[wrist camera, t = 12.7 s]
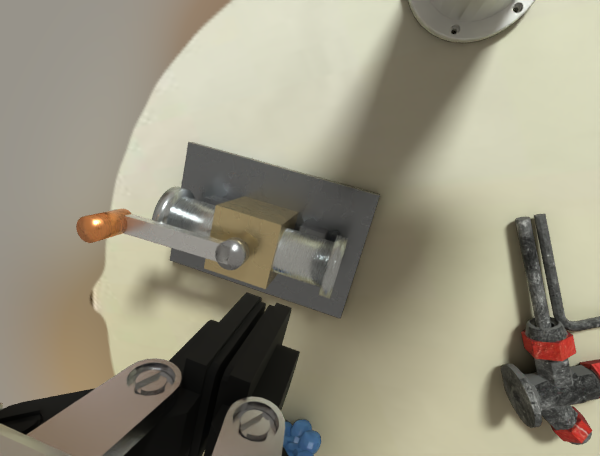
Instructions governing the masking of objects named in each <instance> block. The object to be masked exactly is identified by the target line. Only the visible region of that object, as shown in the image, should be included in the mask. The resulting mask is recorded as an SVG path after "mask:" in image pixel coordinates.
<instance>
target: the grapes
mask: <svg viewBox="0 0 600 456" xmlns="http://www.w3.org/2000/svg"><path fill="white" fill-rule="evenodd" d="M320 444H321V436H320V435H319V434H318V432H316V431H313V430H312V427H311V424H310V423H309V421H307V420H304V419H303V420H297V421H296V422H295V423H294V424H293V426H292V424H291V423H290V422H287V421H285V433H284V441H283V447H284V448H285V450H286V452H287V454H288V456H314V454H315V453H316V452H317V451H318V449H319V447H320Z"/></svg>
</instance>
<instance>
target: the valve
mask: <svg viewBox="0 0 600 456" xmlns="http://www.w3.org/2000/svg"><path fill="white" fill-rule="evenodd" d="M534 218H535V223H536V229H537V234H538V239H539V244H540V249H541V254H542V259H543V264H544V269H545V274H546V280H547V285H548V290H549V295H550V300H551V305H552V310H553V315H554V318H552V317H550V316H549V311H548V306H547V301H546V296H545V291H544V286H543V281H542V276H541V271H540V266H539V261H538V256H537V251H536V245H535V240H534V235H533V230H532V225H531V220H530V217H520V218H516V219H515V222H516V227H517V232H518V237H519V241H520V246H521V251H522V256H523V261H524V266H525V271H526V276H527V281H528V286H529V291H530V296H531V301H532V306H533V311H534V316H535V318H532V319H530V320H528V321H527V323H526V330H524V331H522V332H521V334H522V338H523V343H524V348H525V349H526V350H527V351H528V352H529V353H530V354H531V355H532V356H533V357H534V360H535V365H536V370H537V372H536V373H530V374H523V373H522V372H521V371H520V370H519V369H518V368H517V367H516V366H515V365H513V364H511V363H510V364H504V365H502V366H501V372H502V377H503V382H504V388H505V391H506V393H507V396H508V398H509V400H510V402H511V404H512V406H513V408H514V409H515V411H516V413H517V414H518V416H519V417H520V418H521V420H522V421H523V422H524V423H525V424H526V425H527V426H529V427H530V428H533V427H539V426H540V425H541V423H542V416H543V417H544V418H545V419H546V420H547V421H548V422H549V423H550V425H551V427H552V429H553V431H554V432H555V433H556V434H557V435H558V436H559V437H560V438H561V439H562V440H563V441H567V442H570V443H572V444H576V445H580V444H584V443H586V442H587V441H588V440H589V439H590V438H591V435H592V429H591V428H590V426H589V425H588V423H587V421H586V420H585V418H584V417H583V416H582V414H581V413H580V412H579V411H578V410H577V409H576V408H575V407H573V406H570V405H573V404H579V403H584V402H586V401H588V400H594V399H599V398H600V359H599V360H592V361H586V362H580V365H578V366H572V367H570V366H569V361H568V358H569V357H570V356H572V355H573V354H575V353H576V349H575V344H574V339H573V335H572V334H570V333H569V332H568V331H566V329H567V330H571V331H580V330H585V329H590V328H595V327H600V316H599V317H595V318H590V319H585V320H580V321H569V320H567V318H566V317H565V314H564V308H563V303H562V298H561V293H560V288H559V283H558V277H557V272H556V267H555V262H554V257H553V251H552V246H551V241H550V236H549V231H548V225H547V220H546V215H545V214H537V215H534ZM541 415H542V416H541Z"/></svg>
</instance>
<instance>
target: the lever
mask: <svg viewBox="0 0 600 456" xmlns="http://www.w3.org/2000/svg"><path fill="white" fill-rule="evenodd" d="M76 227H77V232H78V235H79V236H80V238H81V239H82V240H84V241H85V242H88V243H93V242H96V241H100V240H103V239H106V238H109V237H113V236H116V235H119V234H122V233H124V234H128V235H131V236H134V237H138V238H141V239H144V240H147V241H151V242H154V243H157V244H161V245H164V246H167V247H170V248H174V249H177V250H180V251H184V252H187V253H190V254H193V255H197V256H200V257H203V258H207V259H210V260H213V261H216V262H217V263H218V264H219V265H220V266H221V267H222V268H224V269H226V270H235V269H237V268H239V267H240V266H241V265H242V264H244V263H245V262H246V261H247V260H248V258H249V247H248V245H247V244H246V242H245V241H244V240H242V239H240V238H237V237H232V238H229V239H227V240H226V241H222V240H219V239H215V238H212V237H209V236H205V235H202V234H198V233H195V232H192V231H188V230H185V229H181V228H178V227H175V226H171V225H168V224H164V223H161V222H157V221H154V220H151V219H147V218H144V217H140V216H137V215H134V214H131V213H130V212H129V211H128V210H126V209H118V210H111V211H108V212H103V213H98V214H94V215H89V216H84V217H81V218H80V219H79V220H78V222H77V226H76Z"/></svg>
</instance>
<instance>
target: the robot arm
mask: <svg viewBox="0 0 600 456" xmlns="http://www.w3.org/2000/svg"><path fill="white" fill-rule="evenodd" d="M534 1H535V0H408V2H409V6H410V8H411V10H412V12H413V14H414V16H415V18H416V19H417V20H418V22H419V23H420V24H421V25H422V27H424V28H425V29H426V30H427V31H429V32H430V33H431V34H433V35H435V36H437V37H439V38H441V39H444V40H448V41H451V42H463V43H467V42H474V41H480V40H483V39H486V38H489V37H492V36H494V35H496V34H498V33H499V32H501V31H503V30H505V29H506V28H508V27H509V26H510V25H512V24H513V23H514V22H515V21H517V20H518V19H519V18H520V17H521V16H522V15H523V14H524V13H525V12H526V11H527V10H528V9H529V8H530V6H531V5H532V4H533V3H534ZM513 9H516V11H517V13H515V12H514V11H513ZM452 30H454V31H456V34H452V33H451V31H452ZM261 301H262V298H261V297H258V296H255V295H252V294H250V293H246V294H245V295H244V296H243V297H242V298H241V299H240V300H239V301H238V302H237V303H236V304H235V306H234V307H233V308H232V309H231V310H230V311H229V312H228V313H227V314H226V315H225V316H224V317H223V319H222V320H221V321H220V322H216V321H214V320H210V321H208V322H207V323H206V324H205V325H204V326H203V327H202V328H201V329H200V330H199V331H198V332H197V333H196V334H195V335H194V336H193V337H192V338H191V339H190V340H189V341H188V342H187V343H186V344H185V345H184V346H183V347H182V348H181V349H180V350H179V351H178V352H177V353H176V354H175V355H174V356H173V357H172V358H171V359H170V360H169V361H167V360H163V359H146V360H142V361H138V362H136V363H134V364H132V365H130V366H129V367H127V368H126V369H124V370H123V371H121V372H120V373H118V374H117V375H115V376H114V377H112V378H111V379H109V380H108V381H106V382H105V383H103V384H102V385H100V386H99V387H97V388H95V389H90V390H84V391H79V392H74V393H69V394H64V395H58V396H53V397H48V398H43V399H37V400H32V401H27V402H22V403H18V404H15V405H11V406H8V407H7V408H4V409H3V405H2V404H3V403H0V456H202V454H203V452H204V451H205V453H204V456H288V454H287V452H286V450H285V448H284V447H283V441H284V433H285V419H284V417H283V414H282V412H281V409H282V407H283V404H284V401H285V398H286V395H287V392H288V389H289V386H290V383H291V380H292V377H293V374H294V370H295V367H296V363H297V360H298V357H299V353H300V352H299V351H296V350H293V349H291V348H288V347H285V346H282V342H283V339H284V335H285V331H286V328H287V324H288V321H289V317H290V313H291V308H290V307H287V306H284V305H282V304H279V303H276V304H275V306H272V305H269V306H268V308H267V309H266V311H265V312H264V310H265V306H266V303H263V302H261Z"/></svg>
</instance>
